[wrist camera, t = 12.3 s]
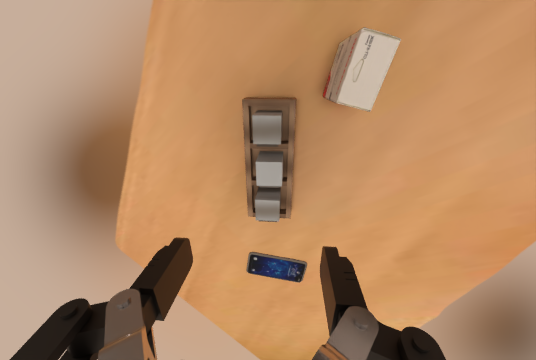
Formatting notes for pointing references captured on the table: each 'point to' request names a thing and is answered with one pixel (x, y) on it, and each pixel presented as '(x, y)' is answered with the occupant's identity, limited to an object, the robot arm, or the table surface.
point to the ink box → (360, 68)
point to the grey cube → (269, 169)
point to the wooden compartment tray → (269, 139)
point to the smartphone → (276, 267)
